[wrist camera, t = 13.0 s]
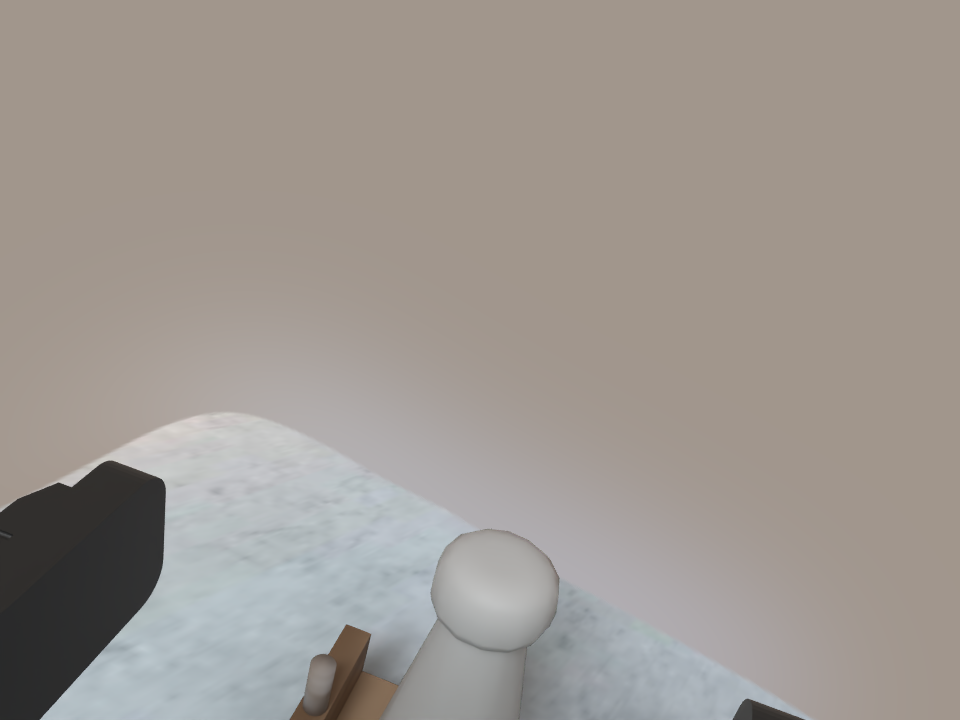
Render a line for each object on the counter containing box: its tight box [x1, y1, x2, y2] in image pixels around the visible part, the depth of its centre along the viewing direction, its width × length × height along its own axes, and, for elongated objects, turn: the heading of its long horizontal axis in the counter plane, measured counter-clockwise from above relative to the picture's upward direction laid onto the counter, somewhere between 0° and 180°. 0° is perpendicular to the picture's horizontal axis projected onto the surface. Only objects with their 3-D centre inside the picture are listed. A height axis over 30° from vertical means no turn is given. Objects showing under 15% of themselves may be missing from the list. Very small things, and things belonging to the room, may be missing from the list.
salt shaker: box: [379, 529, 559, 720], centre depth 33 cm, size 6×6×13 cm
